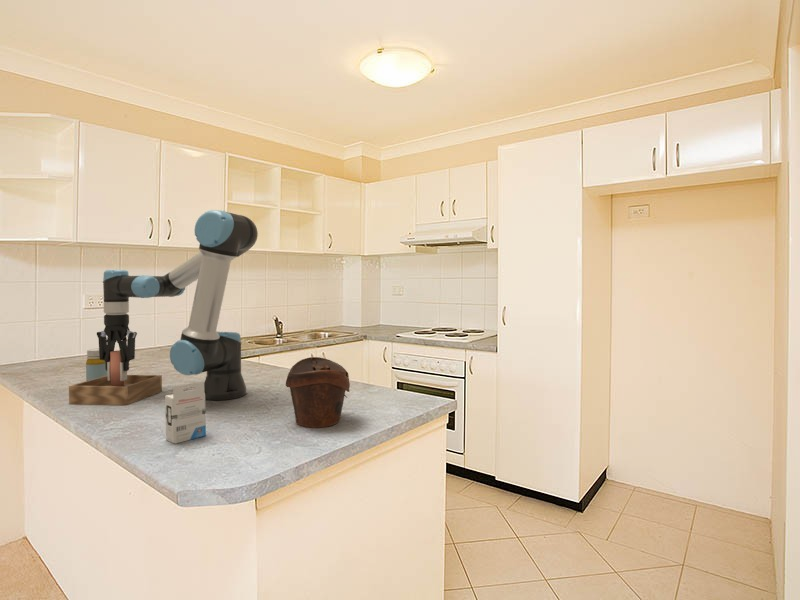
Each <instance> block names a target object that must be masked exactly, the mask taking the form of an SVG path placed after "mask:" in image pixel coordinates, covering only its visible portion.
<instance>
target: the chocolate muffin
mask: <svg viewBox="0 0 800 600" xmlns="http://www.w3.org/2000/svg"><path fill="white" fill-rule="evenodd" d="M350 386H351V383H350V376H349V372H348V371H347V369H345V368H344V367H343V366H342V365H341V364H339V363H338V362H336V361H333V360H331V359H329V358H325V357H317V356H316V357H315V356H311V357H307V358H302V359H301V360H299V361H297V362H296V363H295V364H294V365H292V367H290V370H289V371H288V373H287V377H286V381H285V387H287V388H289V391H290V395H291V396H290V397H291V402H292V406H293V411H294V418H295V423H296V424H297V425H298V426H301V427H306V428H312V429H317V428H319V429H320V428H328V427H332V426H334V425H336V424H338V423H339V422H340V420H341V416H342V411H343V407H344V401H345V398H347V395H346V392H348V393H350Z"/></svg>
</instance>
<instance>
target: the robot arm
mask: <svg viewBox="0 0 800 600" xmlns="http://www.w3.org/2000/svg"><path fill="white" fill-rule="evenodd" d="M194 236H195V237H196V241H197V242H198V243H199V246H198V250H199V252H198V253H196V254H195V255H193V256H192V257H191V258H189V259H187V260H186V261H184V262H183V263H181V264H179V265H178V266H177V267H175V268H174V269H173V270H171V271H169V272H168V273H166V274H165V275H161V276H159V275H158V276H157V275H129V271H128V270H126V269H106V270H105V271H103V277H102V280H103V281H102V284H103V314H104V315H103V324H104V326H105V327H104V329H103V330H102V331H97V332H96V336H97V338H98V349H99V358H100V360H104V361H105V366H106V371H107V378H108V381H110V380H111V366H110V351H115V348H116V347H115V346H116V343H117V344H118V347H119V350H120V353H121V358H122V361H121V362H120V381H124V380H127V375H128V371H129V370H130V361H132V360H135V358H136V337H137V335H138V332H137V331H132V330H131V329H130V328H129V324H130V315H129V314H128V313H129V312H130V302H129V301H130V299H129V298H140V299H149V298H150V299H151V298H159V297H161V298H163V297H164V298H165V297H169V298H173V297H177V296H180V295H183V293H184V292H185V290H186V287H188V286H190V284H192V283H194V282H196V281H197V282H196V287H195V293H194V296H193V303H192V307H191V310H190V311H191V312H190V315H189V316H190V317H189V321H188V326H187V327H185V328H184V329H183V330H182V331H181V335H180V340H176V341H175V342H174V343H173V344H172V345H171V347H170V350H169V361H170V363H171V365H173V368H174V369H175V370H176V372H178V373H179V374H181V375H184V376H194V375H196V376H197V375H200V374H202V373H205V372H206V376H205V379H204V392H205V400H208V401H209V400H211V401H223V400H224V401H226V400H231V399H232V400H234V399H239V398H241V397H244V396H246V394H247V385H246V383H245V380H244V376H243V375H242V340H241V339H242V338H241V334H240V333H238V332H233V331H217V327H218V324H219V319H220V314H221V309H222V305H223V301H224V296H225V290H226V285H227V281H228V277H229V272H230V271H229V270H230V267H231V266H230V265H231V263H232V261H233V260H235V259H236V258H238V257H240V256H241V255H244V254H245V253H246V252H248V251H249V250H250V249H251V248H253V246H254V245H255V244H256V242H257V239H258V236H259V233H258V227H257V225H256V224H255V223H254V221H253V220H251V219H250V218H249V217H247V216H244V215H242V214H237V213H233V212H229V211H226V210H221V209H220V210H219V209H211V210H207V211H205V212H204V213H202V214H201V215H200V216H199V217H198V218H197V220H196V222H195V225H194Z"/></svg>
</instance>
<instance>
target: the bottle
mask: <svg viewBox="0 0 800 600" xmlns="http://www.w3.org/2000/svg"><path fill="white" fill-rule="evenodd" d="M86 356H87V359H86V361H85V377H86V378H85V379H86V380H85V381H89V380H92V379H96V378H100V377H103V376H107V371H106V366H105V361H104V360H100V358H99V348H91V349H87V350H86Z"/></svg>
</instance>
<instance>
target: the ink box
mask: <svg viewBox="0 0 800 600" xmlns="http://www.w3.org/2000/svg"><path fill="white" fill-rule="evenodd" d="M204 382H205V380H201V381H196V382H190V383H183V384H180V385H179V384H178V385H173V386H172V394H167V395H165V396H164V405H165V407H164V408H165V410H164V411H165V438H166V439H165V440H166V441H168V442H170V443H172V444H180V443H183V442H188V441H191V440H195V439H198V438H202V437H205V436H207V427H206V425H207V424H206V423H207V422H206V420H207V419H206V418H207V417H206V416H207V415H206V399H205V392H204ZM188 388H194V389H189V390H185V389H188Z"/></svg>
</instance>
